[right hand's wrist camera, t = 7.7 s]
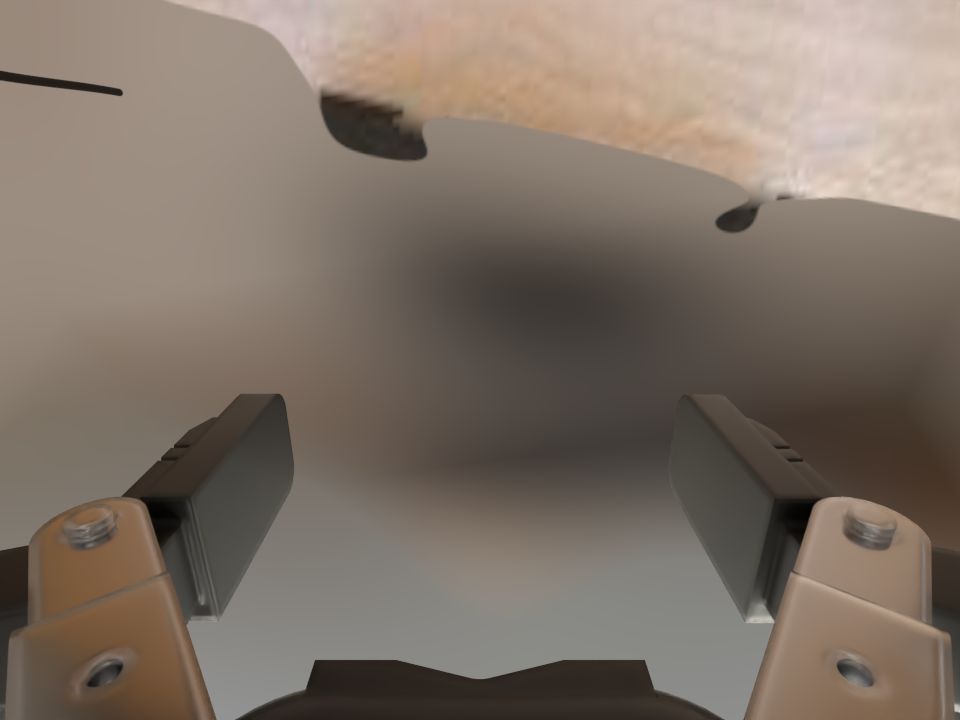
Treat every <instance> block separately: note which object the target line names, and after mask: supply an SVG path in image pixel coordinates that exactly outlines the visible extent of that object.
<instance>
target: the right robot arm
mask: <svg viewBox="0 0 960 720" xmlns="http://www.w3.org/2000/svg"><path fill="white" fill-rule="evenodd" d="M0 80H1V81H7V82H14V83H21V84H28V85H36V86H45V87H53V88H62V89H71V90H79V91H88V92H95V93H102V94H109V95H116V96H122V95H123V91H122V90H121V89H118V88H113V87H107V86H101V85H95V84H89V83H82V82H75V81H67V80H60V79H52V78H45V77H38V76H31V75H24V74H18V73H11V72H6V71H0ZM293 476H294V461H293V454H292V447H291V440H290V433H289V426H288V419H287V412H286V405H285V402H284V399H283V397H282V396H281V395H280V394H240V395H239V396H238V397H237V398H236V399H235V400H234V401H233V402H232V403H231V404H230V405H229V406H228V407H227V408H226V409H225V410H224V411H223V412H222V413H221V414H220V415H219V416H218V417H217V418H211V419H209V420H207V421H206V422H204V423H202V424H200V425H198V426H196V427H194V428H193V429H191V430H189V431H188V432H187V433H186V434H185V435H184V436H183V437H182V438H181V439H180V440H179V441H178V442H177V443H176V444H175V445H174V448H171V449H170V450H169V451H167V452H166V453H165V454H164V455H163V456H162V458H161V461H157V462H156V463H155V464H154V465H153V466H152V467H151V468H150V469H149V470H148V471H147V472H146V473H145V474H144V475H143V476H142V477H141V478H140V479H139V480H138V481H137V482H136V483H135V484H134V485H133V486H132V487H131V488H130V489H129V490H128V491H127V492H126V493H124V494H123V495H122V496H121V497H112V498H105V499H99V500H95V501H91V502H88V503H85V504H82V505H79V506H76V507H74V508H71V509H69V510H67V511H65V512H63V513H61V514H59V515H57V516H56V517H54V518H52V519H51V520H49V521H48V522H47V523H45V524H44V525H43V526H42V527H40V528H39V529H38V530H37V531H36V533H35V534H34V535H33V536H32V538H31V540H30V543H29V545H28V546H23V547H18V548H12V549H7V550H2V551H0V720H217V719H216V716H215V713H214V710H213V707H212V704H211V701H210V697H209V694H208V691H207V688H206V685H205V682H204V679H203V676H202V672H201V669H200V666H199V663H198V660H197V657H196V654H195V650H194V647H193V644H192V641H191V638H190V635H189V632H188V629H187V624H188V622H189V621H219V620H220V618H221V616H222V614H223V612H224V611H225V609H226V607H227V605H228V603H229V601H230V600H231V598H232V596H233V594H234V592H235V591H236V589H237V587H238V585H239V583H240V582H241V580H242V578H243V576H244V574H245V572H246V571H247V569H248V567H249V565H250V563H251V562H252V560H253V558H254V556H255V554H256V552H257V551H258V549H259V547H260V545H261V543H262V542H263V540H264V538H265V536H266V534H267V532H268V531H269V529H270V527H271V525H272V523H273V522H274V520H275V518H276V516H277V514H278V513H279V511H280V509H281V507H282V505H283V503H284V502H285V500H286V498H287V496H288V494H289V492H290V490H291V487H292V483H293ZM669 478H670V484H671V488H672V491H673V493H674V496H675V497H676V499H677V501H678V503H679V505H680V506H681V508H682V510H683V512H684V513H685V515H686V517H687V519H688V521H689V522H690V524H691V526H692V528H693V530H694V531H695V533H696V535H697V537H698V539H699V540H700V542H701V544H702V546H703V548H704V549H705V551H706V553H707V555H708V557H709V558H710V560H711V562H712V564H713V566H714V567H715V569H716V571H717V573H718V574H719V576H720V578H721V580H722V581H723V583H724V585H725V587H726V589H727V591H728V592H729V594H730V596H731V598H732V600H733V601H734V603H735V605H736V607H737V609H738V610H739V612H740V614H741V616H742V618H743V619H744V621H745V623H774V625H773V629H772V632H771V635H770V638H769V641H768V644H767V647H766V651H765V654H764V657H763V660H762V663H761V666H760V669H759V672H758V676H757V679H756V682H755V685H754V688H753V691H752V694H751V697H750V701H749V704H748V707H747V710H746V713H745V716H744V719H743V720H960V552H959V551H954V550H949V549H944V548H939V547H934V546H931V543H930V540H929V538H928V536H927V535H926V534H925V533H924V531H923V530H922V529H921V528H920V527H918V526H917V525H916V524H915V523H913V522H912V521H911V520H909V519H908V518H906V517H904V516H903V515H901V514H899V513H897V512H895V511H893V510H891V509H889V508H886V507H884V506H881V505H878V504H875V503H872V502H869V501H865V500H861V499H856V498H848V497H842V496H841V495H840V494H839V493H838V492H837V491H836V490H835V489H834V488H833V487H832V486H831V485H829V484H828V483H827V482H826V481H825V480H824V479H823V478H822V477H821V476H820V475H819V474H818V473H817V472H816V471H815V470H814V469H813V468H812V467H811V466H810V465H809V464H808V463H807V462H803V459H802V457H801V456H799V455H798V454H797V453H796V452H795V451H794V450H793V449H790V446H789V445H788V444H787V443H786V442H785V441H784V440H783V439H782V438H781V437H780V436H779V435H778V434H777V433H776V432H775V431H773V430H771V429H769V428H767V427H766V426H764V425H762V424H760V423H758V422H756V421H754V420H753V419H751V418H745V417H744V416H743V414H742V413H741V412H740V411H739V410H738V409H737V408H736V407H735V406H734V405H733V404H732V403H731V402H730V401H729V400H728V399H727V398H726V397H725V396H723V395H683V396H682V397H681V398H680V400H679V402H678V406H677V412H676V419H675V426H674V433H673V440H672V447H671V454H670V461H669ZM236 720H724V719H722V718H721V717H719V716H717V715H716V714H714V713H712V712H710V711H709V710H707V709H705V708H703V707H701V706H699V705H696V704H694V703H692V702H690V701H688V700H686V699H683V698H680V697H677V696H674V695H671V694H669V693H666V692H662V691H658V690H654V687H653V684H652V681H651V678H650V675H649V672H648V669H647V665H646V662H645V660H562V661H558V662H554V663H550V664H546V665H542V666H538V667H534V668H529V669H525V670H521V671H517V672H513V673H509V674H505V675H501V676H497V677H492V678H488V679H472V678H467V677H463V676H459V675H455V674H451V673H447V672H443V671H439V670H435V669H431V668H426V667H422V666H418V665H414V664H410V663H406V662H402V661H398V660H315V662H314V666H313V669H312V672H311V675H310V678H309V681H308V684H307V687H306V690H302V691H298V692H294V693H291V694H289V695H286V696H283V697H280V698H277V699H274V700H272V701H270V702H268V703H266V704H264V705H262V706H259V707H257V708H255V709H253V710H251V711H250V712H248V713H246V714H244V715H243V716H241V717H239V718H237V719H236Z"/></svg>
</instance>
